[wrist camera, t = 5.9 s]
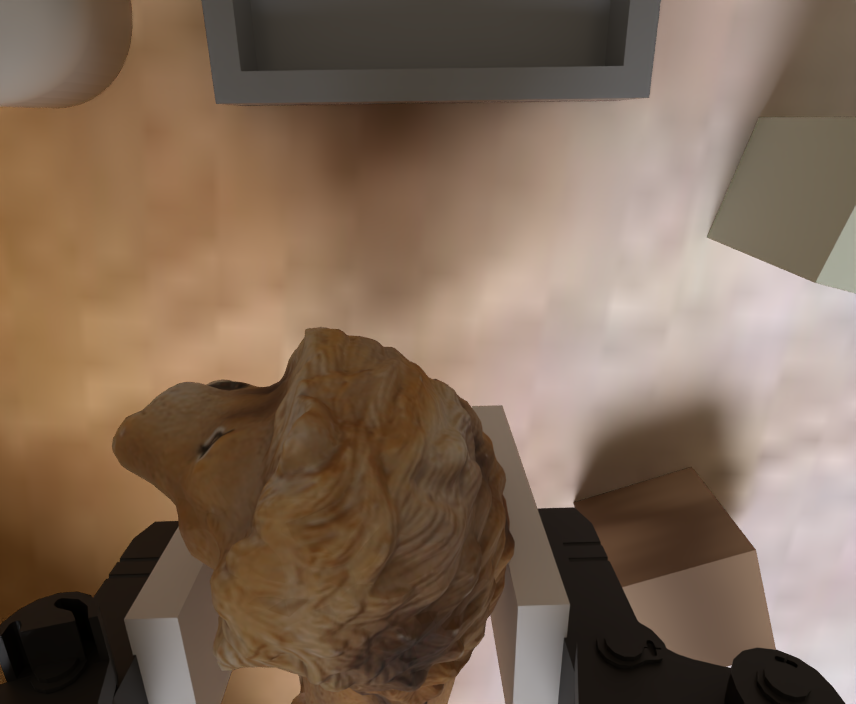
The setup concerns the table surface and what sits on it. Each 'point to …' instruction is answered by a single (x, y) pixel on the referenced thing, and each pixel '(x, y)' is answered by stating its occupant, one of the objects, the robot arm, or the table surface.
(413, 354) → the table surface
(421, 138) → the table surface
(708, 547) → the walnut block
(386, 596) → the lion figurine
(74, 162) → the table surface
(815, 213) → the sage block
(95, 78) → the pale grey rounded cylinder
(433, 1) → the slate tray
